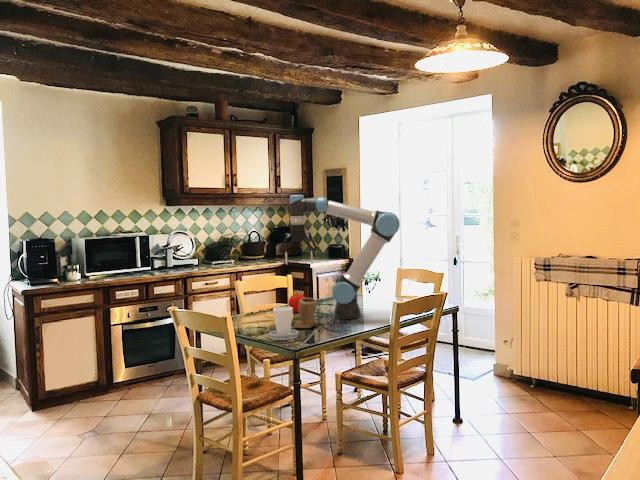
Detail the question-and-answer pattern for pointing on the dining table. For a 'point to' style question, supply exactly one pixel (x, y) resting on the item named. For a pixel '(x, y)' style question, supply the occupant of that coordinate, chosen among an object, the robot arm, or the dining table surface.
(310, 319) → the stone cup
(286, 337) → the saucer
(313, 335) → the dining table surface
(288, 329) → the foam cup
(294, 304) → the tomato
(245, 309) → the dining table surface
